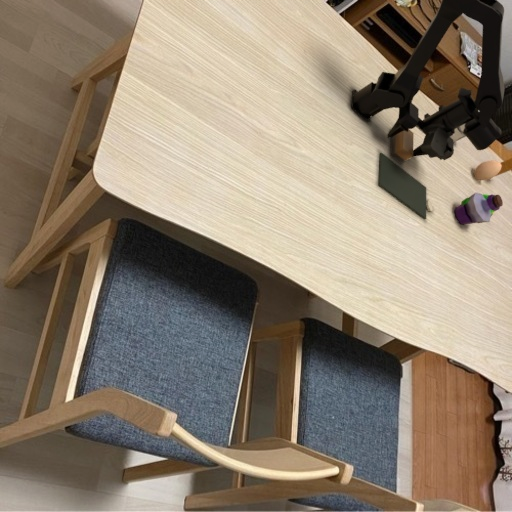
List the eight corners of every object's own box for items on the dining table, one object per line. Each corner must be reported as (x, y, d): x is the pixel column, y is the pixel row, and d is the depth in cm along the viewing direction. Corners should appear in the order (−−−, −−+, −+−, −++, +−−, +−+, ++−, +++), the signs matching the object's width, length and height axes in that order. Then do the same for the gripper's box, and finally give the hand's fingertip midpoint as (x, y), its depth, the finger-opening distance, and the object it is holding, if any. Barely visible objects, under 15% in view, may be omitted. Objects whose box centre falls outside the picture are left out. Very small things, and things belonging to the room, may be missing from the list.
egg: (481, 185, 174) (507, 174, 168) (472, 182, 170) (498, 170, 165) (477, 169, 175) (502, 157, 169) (468, 166, 172) (494, 154, 166)
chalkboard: (378, 185, 137) (380, 184, 136) (379, 153, 142) (381, 152, 141) (424, 219, 145) (426, 218, 145) (424, 188, 150) (426, 187, 150)
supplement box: (485, 180, 176) (516, 167, 169) (481, 170, 177) (512, 156, 170) (489, 179, 179) (520, 166, 172) (485, 169, 179) (516, 155, 172)
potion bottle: (450, 196, 158) (490, 178, 150) (468, 210, 163) (508, 194, 154) (450, 221, 154) (492, 205, 146) (469, 236, 158) (510, 220, 150)
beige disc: (426, 207, 147) (428, 206, 146) (426, 198, 148) (428, 197, 148) (430, 213, 149) (433, 213, 148) (430, 204, 150) (433, 203, 150)
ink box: (443, 147, 165) (480, 128, 157) (435, 131, 165) (472, 111, 157) (454, 142, 171) (491, 124, 163) (447, 127, 171) (483, 108, 163)
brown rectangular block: (390, 155, 145) (403, 148, 142) (391, 132, 149) (403, 124, 146) (400, 163, 146) (413, 156, 144) (401, 140, 150) (413, 133, 148)
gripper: (428, 120, 127) (373, 151, 138) (476, 162, 136) (421, 188, 147) (428, 85, 133) (375, 117, 144) (474, 128, 142) (421, 155, 153)
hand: (398, 146), depth 147 cm, fingers open, 9 cm apart
